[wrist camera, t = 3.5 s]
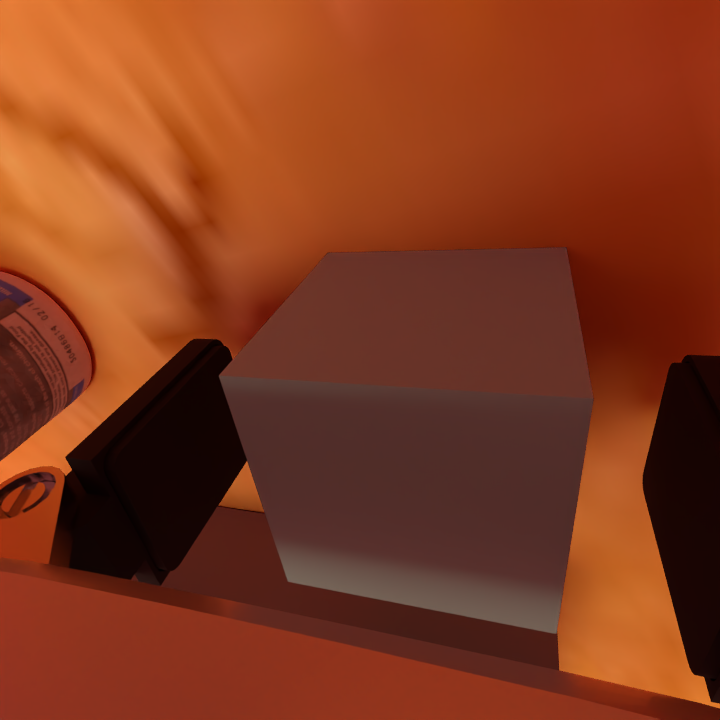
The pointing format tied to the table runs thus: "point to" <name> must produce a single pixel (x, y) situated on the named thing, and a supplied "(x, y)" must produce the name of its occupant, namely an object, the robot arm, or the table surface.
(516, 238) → the table surface
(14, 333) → the pill bottle
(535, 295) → the gray cube
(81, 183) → the table surface
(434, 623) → the tote
